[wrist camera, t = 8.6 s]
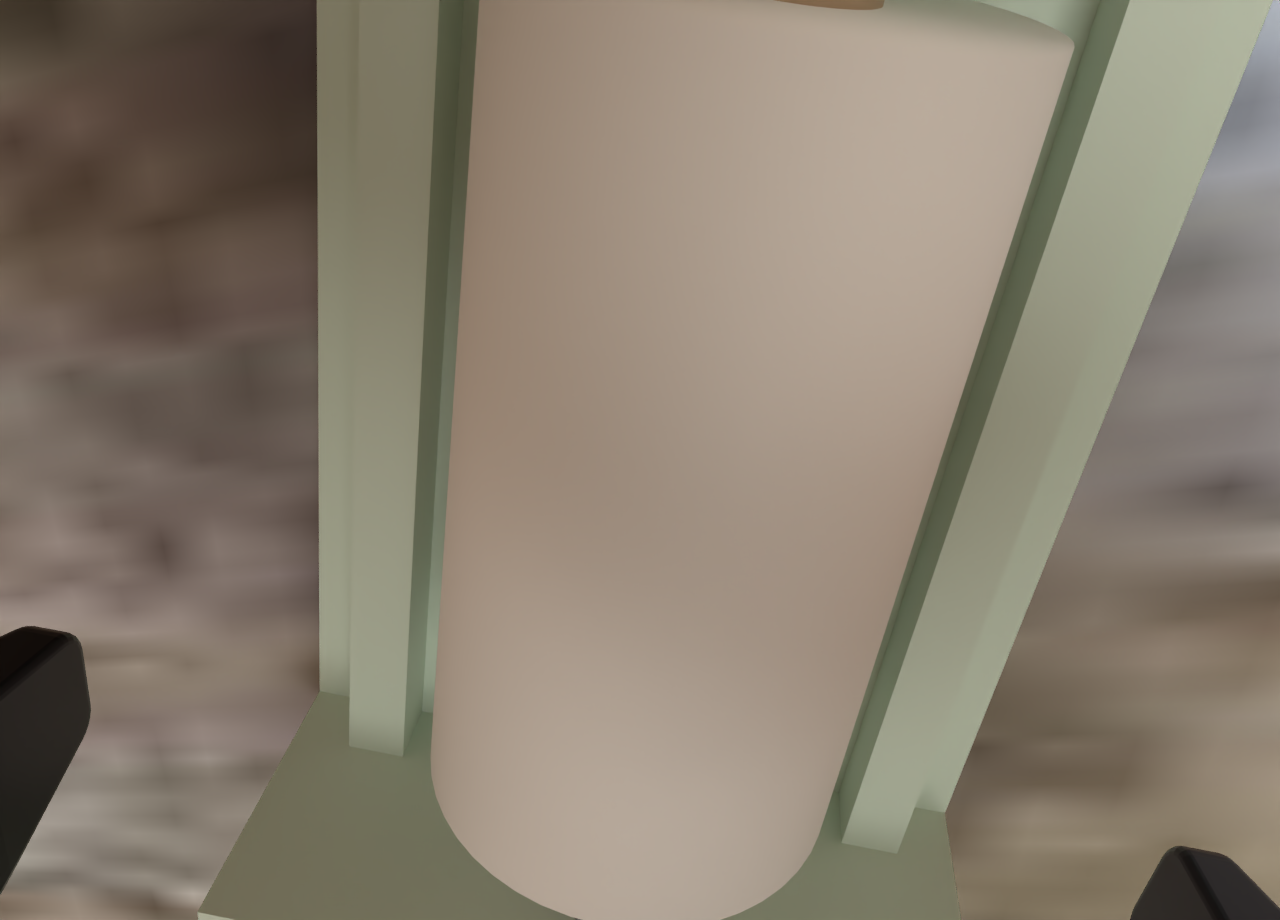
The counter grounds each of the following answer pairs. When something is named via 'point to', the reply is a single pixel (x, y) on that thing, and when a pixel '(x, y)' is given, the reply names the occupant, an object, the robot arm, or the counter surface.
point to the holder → (944, 544)
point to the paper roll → (704, 414)
